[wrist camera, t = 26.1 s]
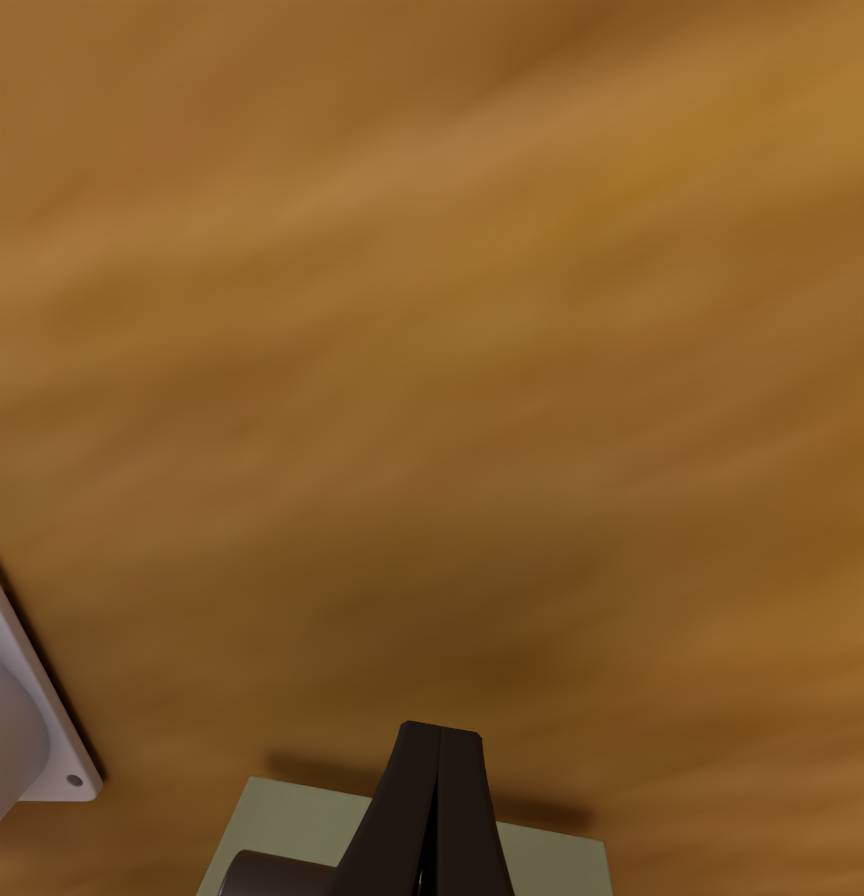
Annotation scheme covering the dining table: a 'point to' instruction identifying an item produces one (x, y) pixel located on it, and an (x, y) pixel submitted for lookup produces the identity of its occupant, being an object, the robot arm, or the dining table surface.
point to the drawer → (331, 830)
